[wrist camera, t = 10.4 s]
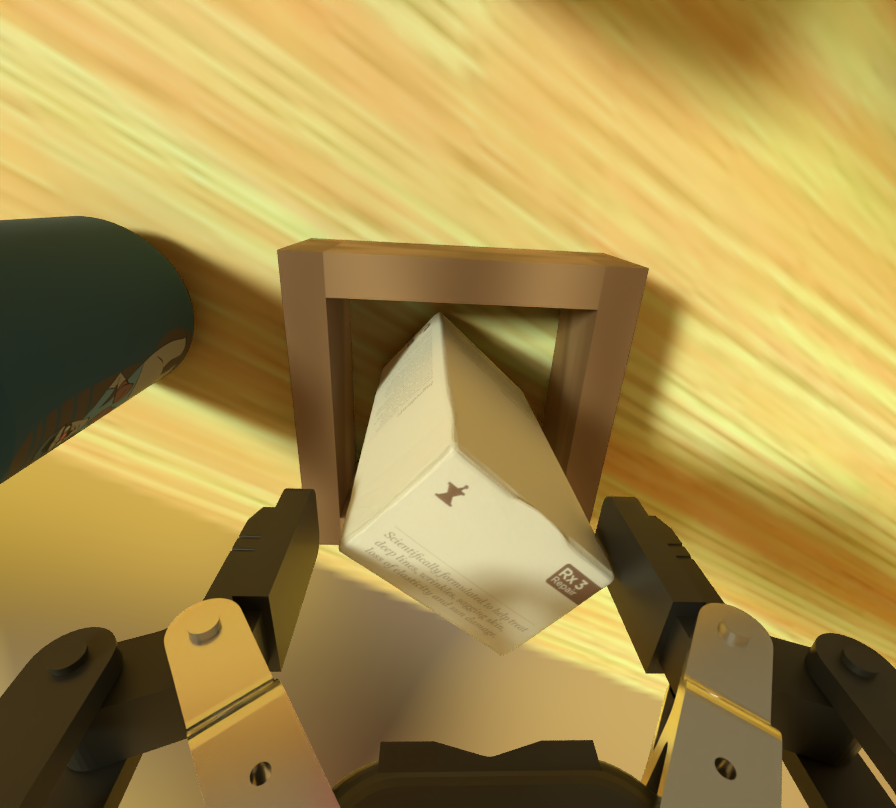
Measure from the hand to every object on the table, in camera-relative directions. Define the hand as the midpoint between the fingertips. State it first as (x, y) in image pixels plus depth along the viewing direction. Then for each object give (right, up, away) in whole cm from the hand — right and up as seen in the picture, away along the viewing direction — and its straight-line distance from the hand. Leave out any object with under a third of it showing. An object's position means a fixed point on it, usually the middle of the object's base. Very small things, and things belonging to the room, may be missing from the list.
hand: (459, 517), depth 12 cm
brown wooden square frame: (0, +4, +9) cm, 10 cm away
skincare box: (0, +4, +9) cm, 10 cm away
